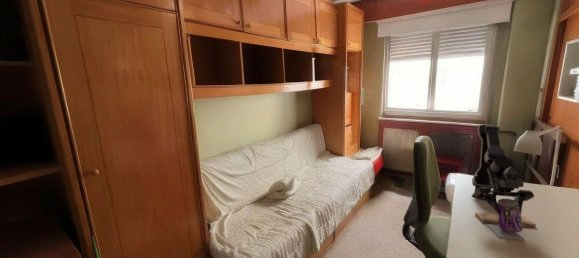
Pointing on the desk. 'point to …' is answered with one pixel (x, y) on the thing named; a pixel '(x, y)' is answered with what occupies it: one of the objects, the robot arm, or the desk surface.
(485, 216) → the tan flat block
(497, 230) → the slate mat
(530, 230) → the desk surface
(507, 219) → the beverage can
